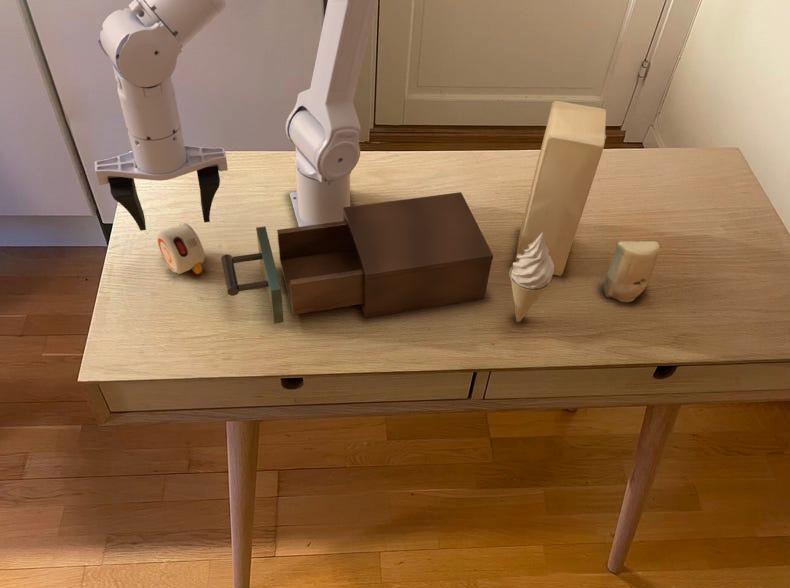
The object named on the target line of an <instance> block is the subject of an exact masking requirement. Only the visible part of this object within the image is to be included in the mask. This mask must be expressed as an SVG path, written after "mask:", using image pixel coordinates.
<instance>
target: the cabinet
mask: <svg viewBox="0 0 790 588" xmlns="http://www.w3.org/2000/svg"><path fill="white" fill-rule="evenodd" d="M343 221H346V222H347V225H348V228H349V231H350V233H351V236H352V239H353V242H354V245H355V248H356V251H357V254H358V256H359V259H360V262H361V265H362V268H363V271H364V274H365V287H364V304H360V307H361V310H362V313H363V316H364V318H371V317H378V316H385V315H389V314H390V315H391V314H396V313H402V312H407V311H414V310H422V309H428V308H434V307H439V306H445V305H451V304H457V303H463V302H469V301H475V300H483V299H485V298H486V292H487V287H488V282H489V278H490V272H491V269H492V262H493V259H494V254H493V252H492V250H491V248H490V246H489V243H488V242H487V241H486V239H485V236H484V234H483V233H482V230H481V228H480V226H479V225H478V222H477V220H476V218H475V217H474V214H473V213H472V210H471V209H470V206H469V205H468V203H467V201H466V198H465V197H464V195H463V193H462V192H461V191H459V192H452V193H444V194H436V195H435V194H434V195H429V196H421V197H414V198H405V199H398V200H389V201H383V202H374V203H367V204H359V205H351V207H343Z"/></svg>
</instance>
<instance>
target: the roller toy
mask: <svg viewBox="0 0 790 588" xmlns="http://www.w3.org/2000/svg"><path fill="white" fill-rule="evenodd" d="M156 242H157V245H158V249H159V251H160V253H161V255H162V257H163V259H164V262H165V263H166V265H167V266H168V268H169V269H170V270H171V271H172V272H173V273H175V274H178V275H180V274H183V273H186V272H188V271H190V270H192V272H193V273H194V274H196V275H199V274H201V273H202V272H203V267H202V265H203V264H204V263H205V259H206V258H205V257H206V256H205V250H204V247H203V244H202V242H201V239H200V238H199V235H198V233H196V231H195V229H194V228H193V227H192V226H191V225H190V224H188V223H186V222H181V223H180V224H179V225H178V226H176V227H173V226H171V227H168V228H166V229H164V230H161V231H159V233H157V237H156Z"/></svg>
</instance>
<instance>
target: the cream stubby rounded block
mask: <svg viewBox="0 0 790 588" xmlns="http://www.w3.org/2000/svg"><path fill="white" fill-rule="evenodd" d="M661 250H662V246H661V244H660V242H658V241H657V240H630V241H627V240H621V241H619V242H617V244H616V247H615V250H614V253H613V255H612V258H611V262H610V263H609V267H608V270H607V273H606V275H605V280H604V283H603V288H602V289H603V290H602V291H603V294H604V295H605V297H607V298H609V299H614V300H617V301H619V302H623V303H630V302H633V301H635V300H636V298H637V297H639V296H641V294H642V293H643V292H644V290H645V289H646V287H647V285H648V283H649V282H650V279H651V278H652V275H653V273H654V270H655V267H656V265H657V264H656V263H657V261H658V257H659V253H660V252H661Z"/></svg>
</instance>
